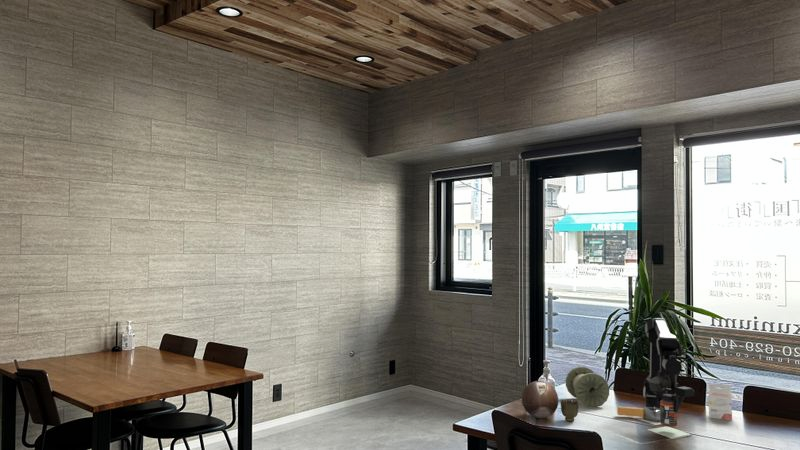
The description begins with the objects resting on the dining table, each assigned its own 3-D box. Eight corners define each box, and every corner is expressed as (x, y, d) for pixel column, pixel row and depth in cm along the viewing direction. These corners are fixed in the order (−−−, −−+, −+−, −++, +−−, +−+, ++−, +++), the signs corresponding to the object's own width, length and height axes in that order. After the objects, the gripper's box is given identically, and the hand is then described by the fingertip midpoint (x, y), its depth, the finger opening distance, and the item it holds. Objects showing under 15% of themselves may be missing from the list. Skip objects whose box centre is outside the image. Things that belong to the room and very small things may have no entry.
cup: (580, 424, 232) (579, 404, 232) (561, 423, 234) (561, 403, 234) (578, 419, 239) (578, 399, 240) (559, 417, 241) (559, 398, 241)
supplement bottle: (670, 427, 218) (669, 397, 218) (656, 423, 223) (656, 394, 223) (680, 425, 220) (680, 395, 221) (667, 421, 226) (666, 392, 226)
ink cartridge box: (731, 418, 243) (731, 383, 244) (732, 421, 239) (731, 385, 240) (708, 415, 247) (708, 381, 248) (708, 418, 243) (708, 383, 244)
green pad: (666, 427, 229) (666, 426, 229) (691, 435, 219) (691, 434, 219) (646, 431, 224) (646, 429, 224) (670, 439, 214) (670, 437, 214)
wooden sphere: (530, 423, 232) (530, 385, 233) (515, 413, 247) (515, 378, 248) (565, 421, 235) (565, 384, 236) (548, 411, 250) (548, 376, 251)
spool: (609, 407, 258) (609, 374, 259) (575, 407, 258) (575, 373, 259) (597, 398, 275) (597, 366, 275) (565, 398, 275) (565, 366, 276)
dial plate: (651, 415, 247) (651, 414, 247) (676, 422, 236) (675, 421, 236) (631, 418, 242) (631, 417, 242) (655, 426, 231) (655, 424, 231)
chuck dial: (661, 417, 242) (661, 405, 242) (665, 422, 234) (665, 410, 234) (616, 414, 246) (616, 402, 246) (618, 419, 238) (618, 407, 238)
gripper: (633, 366, 228) (634, 406, 227) (674, 375, 211) (674, 419, 210) (653, 364, 232) (654, 403, 232) (695, 373, 216) (695, 415, 215)
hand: (668, 410), depth 222 cm, fingers closed on supplement bottle, 6 cm apart
